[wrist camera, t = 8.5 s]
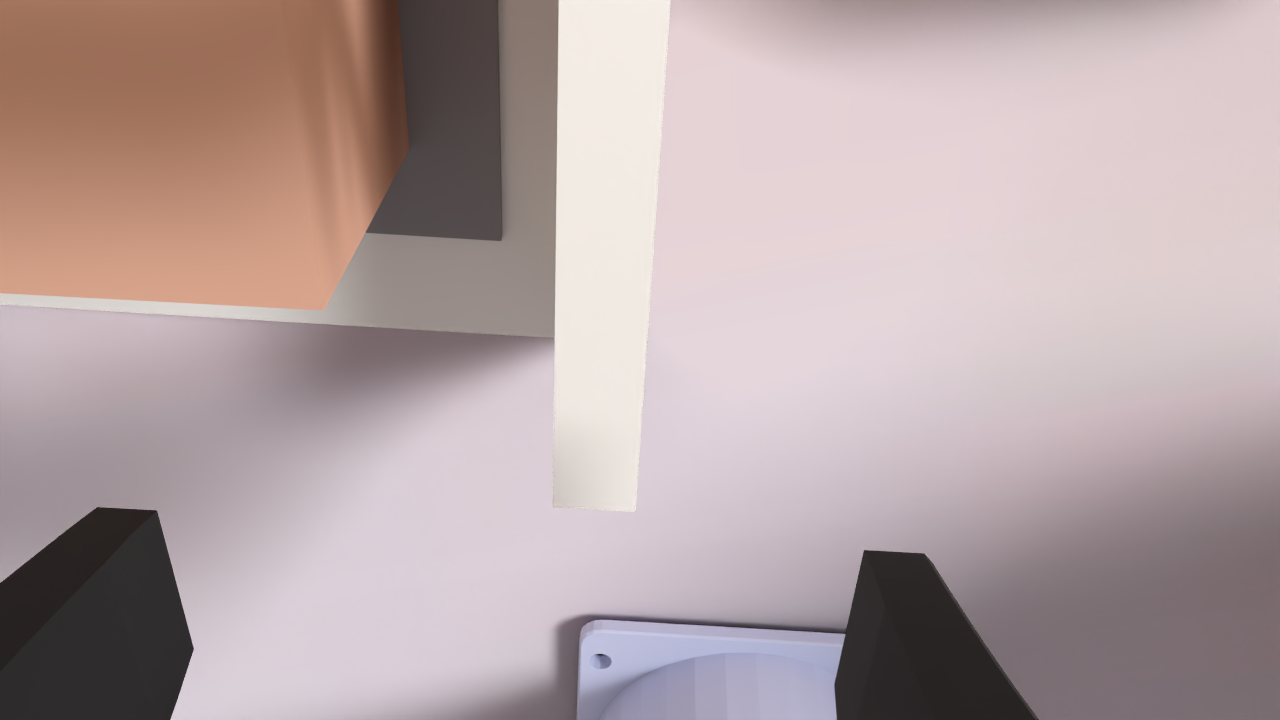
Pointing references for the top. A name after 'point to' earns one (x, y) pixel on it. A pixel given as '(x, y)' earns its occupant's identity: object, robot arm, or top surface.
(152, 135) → the cube
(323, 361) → the top surface
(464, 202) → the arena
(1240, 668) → the top surface
